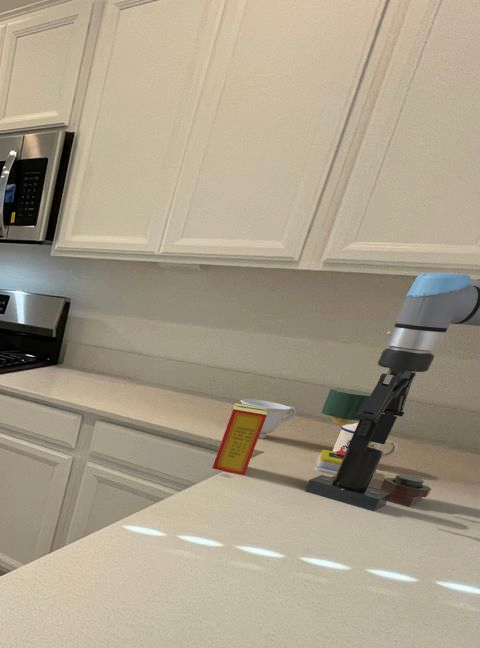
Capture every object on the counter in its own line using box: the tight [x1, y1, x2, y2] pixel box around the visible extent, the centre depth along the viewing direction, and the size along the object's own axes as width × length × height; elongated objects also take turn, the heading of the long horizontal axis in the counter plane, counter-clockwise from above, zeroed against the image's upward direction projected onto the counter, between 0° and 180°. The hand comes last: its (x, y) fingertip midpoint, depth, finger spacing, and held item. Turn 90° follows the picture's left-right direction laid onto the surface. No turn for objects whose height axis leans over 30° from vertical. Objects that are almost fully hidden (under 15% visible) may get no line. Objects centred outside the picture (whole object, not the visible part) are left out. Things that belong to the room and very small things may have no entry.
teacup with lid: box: [332, 422, 398, 458], centre depth 159 cm, size 12×9×12 cm
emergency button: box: [314, 449, 346, 476], centre depth 153 cm, size 9×4×15 cm
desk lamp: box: [321, 387, 385, 447], centre depth 141 cm, size 12×8×18 cm, turn 31°
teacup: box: [240, 398, 297, 439], centre depth 180 cm, size 12×15×10 cm
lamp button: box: [394, 474, 425, 488], centre depth 133 cm, size 4×4×2 cm
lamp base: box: [331, 475, 432, 508], centre depth 137 cm, size 15×10×4 cm, turn 31°
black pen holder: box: [333, 447, 384, 491], centre depth 131 cm, size 6×6×9 cm
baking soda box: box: [211, 402, 267, 476], centre depth 147 cm, size 10×6×16 cm
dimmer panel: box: [304, 474, 391, 512], centre depth 133 cm, size 12×10×3 cm
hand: (366, 446), depth 129 cm, fingers open, 13 cm apart
